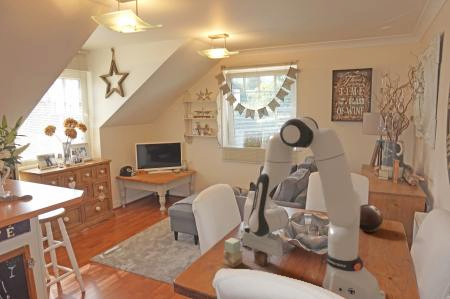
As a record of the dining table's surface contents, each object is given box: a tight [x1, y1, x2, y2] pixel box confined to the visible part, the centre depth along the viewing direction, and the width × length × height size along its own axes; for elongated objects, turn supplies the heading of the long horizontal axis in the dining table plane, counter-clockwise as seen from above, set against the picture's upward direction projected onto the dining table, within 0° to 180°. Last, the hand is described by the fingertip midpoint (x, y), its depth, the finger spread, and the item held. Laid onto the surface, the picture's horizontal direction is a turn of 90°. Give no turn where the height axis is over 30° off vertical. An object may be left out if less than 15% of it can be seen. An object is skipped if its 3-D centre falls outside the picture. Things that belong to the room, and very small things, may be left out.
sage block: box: [224, 237, 241, 254], centre depth 147 cm, size 5×5×5 cm
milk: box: [242, 190, 255, 229], centre depth 173 cm, size 12×12×26 cm
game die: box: [237, 229, 245, 248], centre depth 166 cm, size 9×8×10 cm
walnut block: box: [253, 250, 270, 267], centre depth 148 cm, size 5×5×5 cm
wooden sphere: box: [359, 204, 384, 233], centre depth 181 cm, size 15×15×15 cm
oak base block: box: [223, 249, 243, 268], centre depth 148 cm, size 6×6×6 cm
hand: (262, 259), depth 148 cm, fingers open, 5 cm apart
